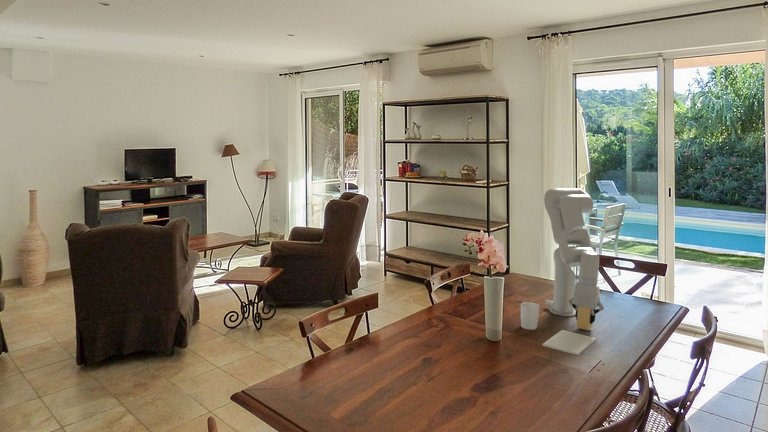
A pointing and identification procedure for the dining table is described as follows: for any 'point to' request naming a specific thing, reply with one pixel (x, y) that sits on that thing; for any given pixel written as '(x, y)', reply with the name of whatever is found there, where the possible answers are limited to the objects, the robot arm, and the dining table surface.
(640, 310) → the dining table surface
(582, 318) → the ochre block
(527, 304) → the white cup
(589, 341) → the white board
